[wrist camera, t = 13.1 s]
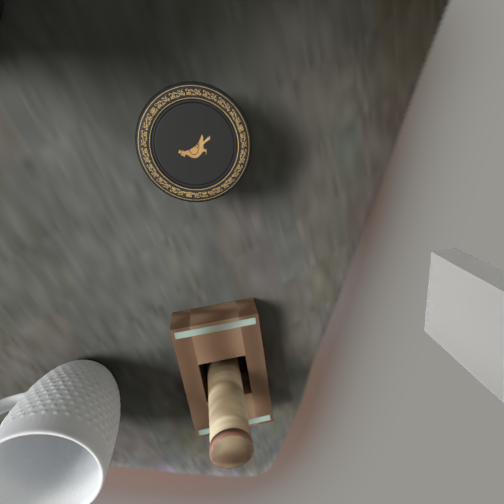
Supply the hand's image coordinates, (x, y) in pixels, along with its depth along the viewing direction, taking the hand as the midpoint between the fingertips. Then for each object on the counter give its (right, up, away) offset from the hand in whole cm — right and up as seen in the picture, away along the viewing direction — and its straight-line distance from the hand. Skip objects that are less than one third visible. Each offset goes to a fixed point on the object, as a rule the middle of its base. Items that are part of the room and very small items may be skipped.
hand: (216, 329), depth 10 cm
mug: (-21, -14, +33) cm, 42 cm away
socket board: (-3, -12, +35) cm, 37 cm away
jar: (-5, +14, +26) cm, 30 cm away
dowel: (-3, -12, +35) cm, 37 cm away
